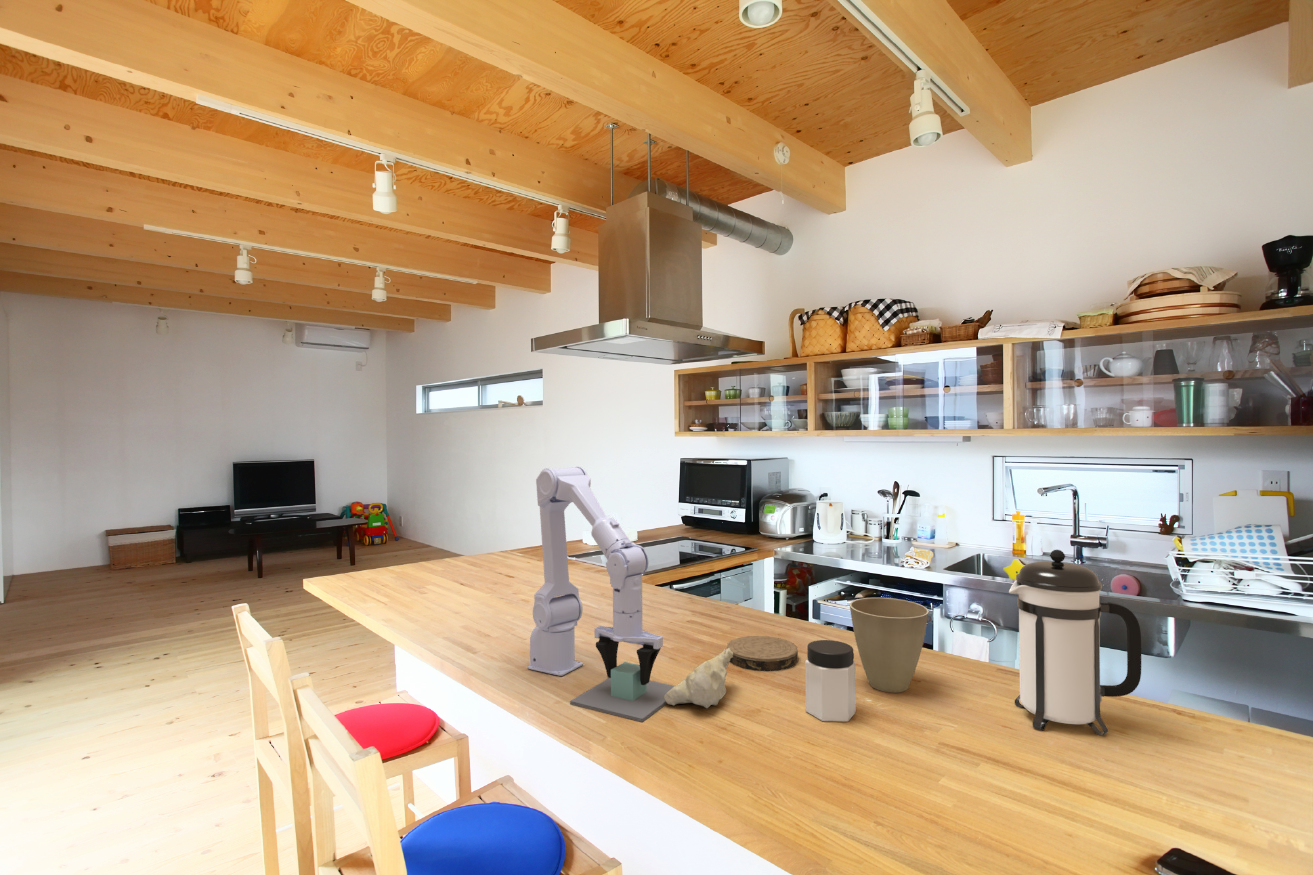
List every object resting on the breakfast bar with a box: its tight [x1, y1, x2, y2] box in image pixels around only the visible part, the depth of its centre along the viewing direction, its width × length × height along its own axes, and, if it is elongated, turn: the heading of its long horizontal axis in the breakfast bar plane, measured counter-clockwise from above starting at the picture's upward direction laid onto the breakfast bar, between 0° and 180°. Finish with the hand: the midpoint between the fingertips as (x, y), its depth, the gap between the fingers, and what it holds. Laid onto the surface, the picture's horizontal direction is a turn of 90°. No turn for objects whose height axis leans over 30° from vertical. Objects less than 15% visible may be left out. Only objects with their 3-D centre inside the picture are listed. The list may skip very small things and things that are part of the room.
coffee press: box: [1008, 549, 1142, 737], centre depth 113 cm, size 17×16×30 cm
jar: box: [804, 639, 857, 723], centre depth 116 cm, size 9×8×12 cm
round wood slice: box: [726, 635, 799, 672], centre depth 145 cm, size 16×16×3 cm
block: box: [611, 661, 647, 701], centre depth 124 cm, size 5×5×5 cm
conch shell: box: [664, 648, 733, 709], centre depth 122 cm, size 15×7×15 cm
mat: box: [569, 677, 675, 723], centre depth 124 cm, size 16×16×1 cm
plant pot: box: [849, 597, 930, 694], centre depth 129 cm, size 15×15×16 cm
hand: (628, 679), depth 124 cm, fingers open, 7 cm apart
